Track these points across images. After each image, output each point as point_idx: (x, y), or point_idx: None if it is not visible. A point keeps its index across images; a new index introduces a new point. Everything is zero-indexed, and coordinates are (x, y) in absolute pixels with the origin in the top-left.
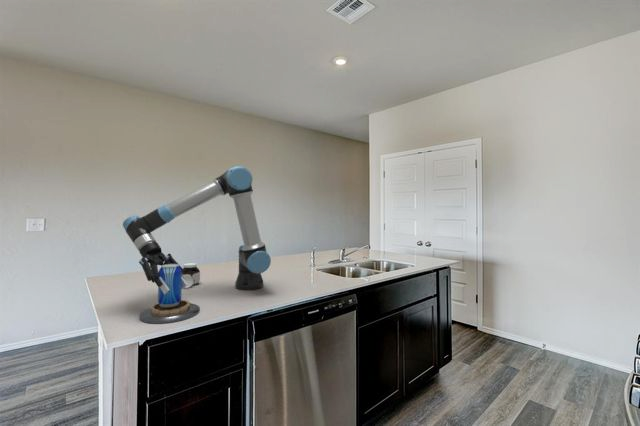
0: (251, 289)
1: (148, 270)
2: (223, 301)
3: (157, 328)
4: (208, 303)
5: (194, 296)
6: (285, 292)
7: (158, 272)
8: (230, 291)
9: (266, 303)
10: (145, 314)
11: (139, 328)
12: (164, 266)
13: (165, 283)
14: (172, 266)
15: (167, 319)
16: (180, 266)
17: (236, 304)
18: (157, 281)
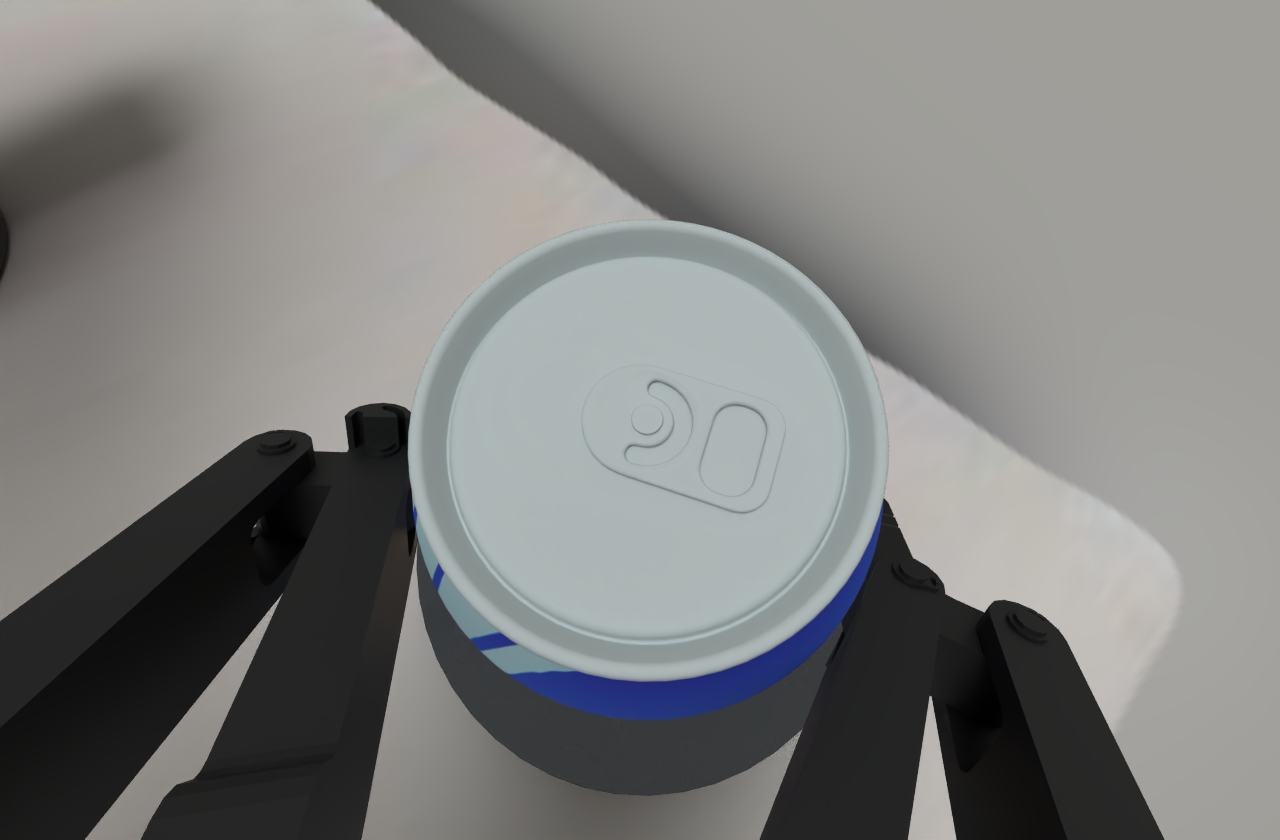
0: (3, 224)
1: (1146, 804)
2: (322, 302)
3: (912, 438)
4: (375, 384)
5: None
6: (118, 16)
7: (823, 640)
8: (23, 369)
9: (366, 51)
10: (760, 696)
11: (955, 558)
12: (732, 546)
13: None
14: (669, 341)
15: None
16: (187, 486)
17: (392, 195)
18: (901, 542)
